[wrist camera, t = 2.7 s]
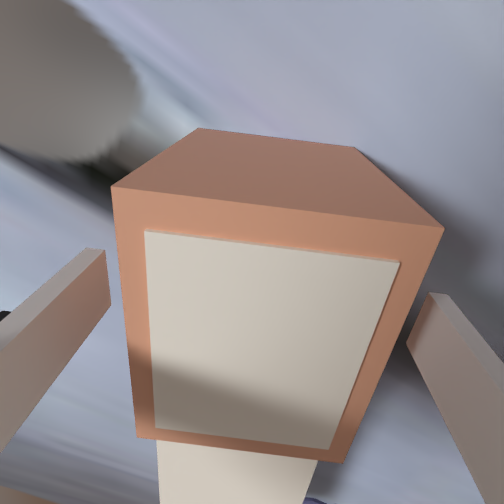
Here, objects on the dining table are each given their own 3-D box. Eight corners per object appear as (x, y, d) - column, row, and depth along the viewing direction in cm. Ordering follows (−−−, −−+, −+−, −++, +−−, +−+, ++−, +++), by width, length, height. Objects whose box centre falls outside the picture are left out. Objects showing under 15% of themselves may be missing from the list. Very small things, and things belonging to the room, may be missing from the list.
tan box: (198, 127, 16) (107, 188, 8) (354, 147, 16) (448, 230, 8) (193, 288, 21) (135, 441, 12) (314, 303, 21) (343, 467, 12)
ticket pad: (193, 292, 21) (152, 401, 14) (313, 307, 21) (333, 424, 14) (189, 461, 31) (163, 578, 24) (272, 472, 31) (271, 592, 24)
